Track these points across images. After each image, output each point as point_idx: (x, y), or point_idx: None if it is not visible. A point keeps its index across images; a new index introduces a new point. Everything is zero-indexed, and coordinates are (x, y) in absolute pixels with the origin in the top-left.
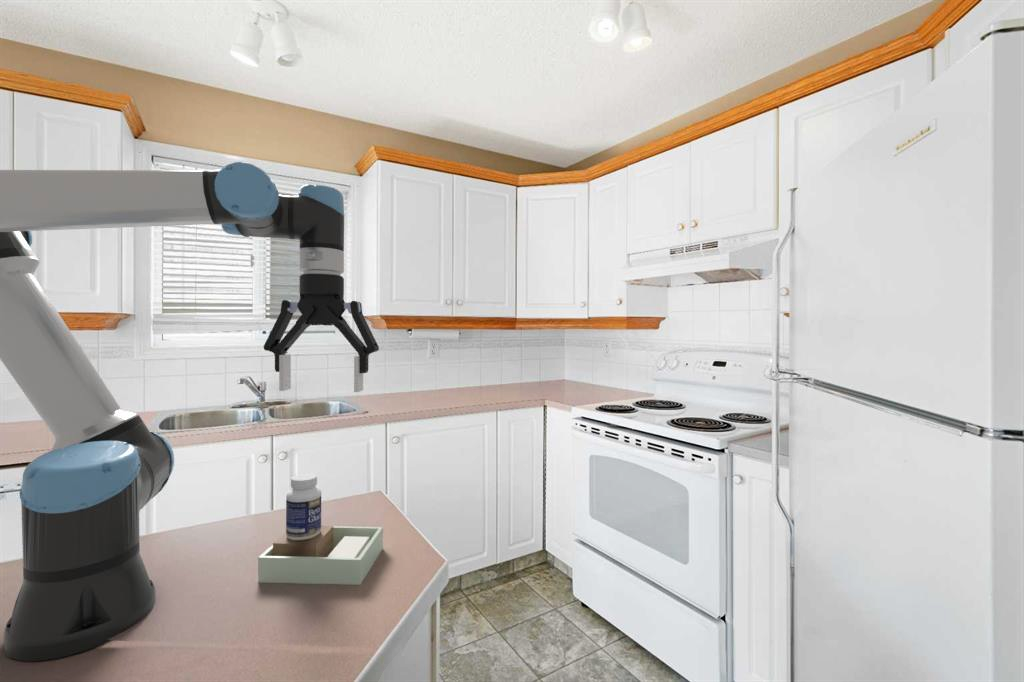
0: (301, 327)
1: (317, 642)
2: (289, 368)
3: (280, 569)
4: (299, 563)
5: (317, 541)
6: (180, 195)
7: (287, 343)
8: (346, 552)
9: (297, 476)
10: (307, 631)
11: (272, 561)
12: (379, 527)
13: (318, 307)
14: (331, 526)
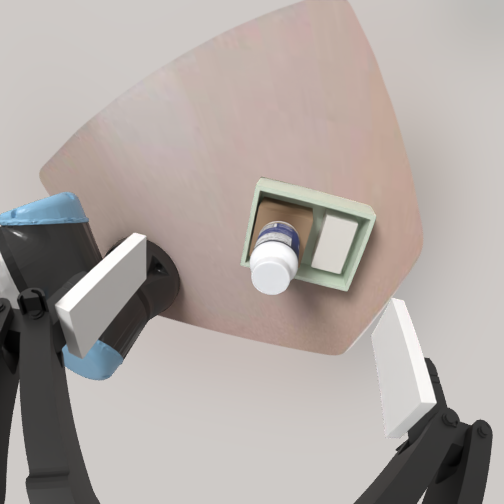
0: (93, 492)
1: (313, 330)
2: (106, 284)
3: None
4: None
5: (299, 261)
6: None
7: (69, 399)
8: (332, 258)
9: (259, 275)
10: (305, 319)
11: None
12: (372, 216)
13: None
14: (310, 221)
